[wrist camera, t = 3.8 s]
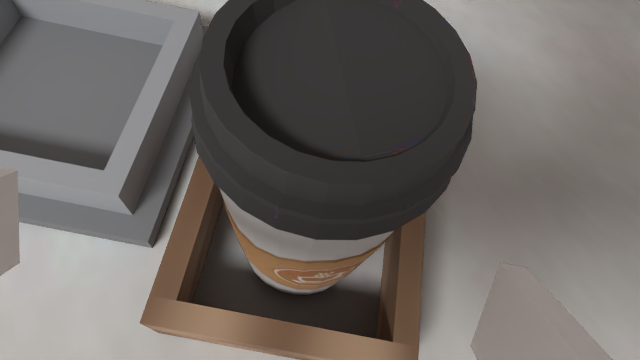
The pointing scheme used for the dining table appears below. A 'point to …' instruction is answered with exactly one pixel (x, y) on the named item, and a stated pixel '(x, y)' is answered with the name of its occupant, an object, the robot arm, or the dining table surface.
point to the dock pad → (96, 111)
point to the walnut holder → (269, 334)
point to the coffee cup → (328, 127)
